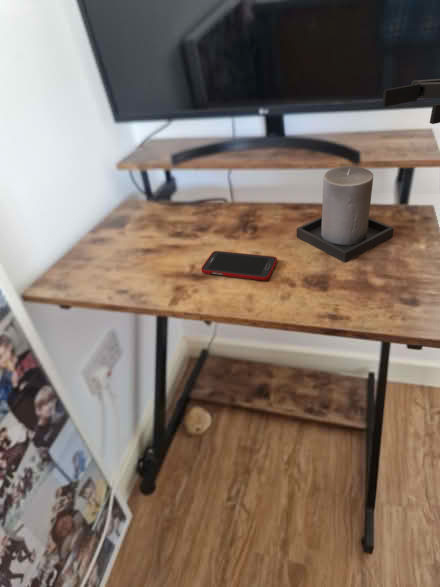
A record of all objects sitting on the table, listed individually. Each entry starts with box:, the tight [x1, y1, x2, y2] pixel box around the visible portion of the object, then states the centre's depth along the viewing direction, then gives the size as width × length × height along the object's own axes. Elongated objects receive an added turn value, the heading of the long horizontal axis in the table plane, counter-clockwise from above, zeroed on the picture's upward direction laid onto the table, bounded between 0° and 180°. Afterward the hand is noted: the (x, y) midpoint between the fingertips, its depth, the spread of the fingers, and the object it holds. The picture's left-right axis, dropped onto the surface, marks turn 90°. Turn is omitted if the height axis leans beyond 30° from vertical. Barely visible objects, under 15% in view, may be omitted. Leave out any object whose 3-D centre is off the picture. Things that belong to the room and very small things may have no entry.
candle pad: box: [296, 216, 395, 263], centre depth 88 cm, size 14×14×2 cm
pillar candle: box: [321, 165, 374, 246], centre depth 84 cm, size 10×10×15 cm
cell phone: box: [200, 250, 278, 281], centre depth 84 cm, size 8×15×1 cm, turn 69°
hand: (406, 105), depth 67 cm, fingers open, 13 cm apart
